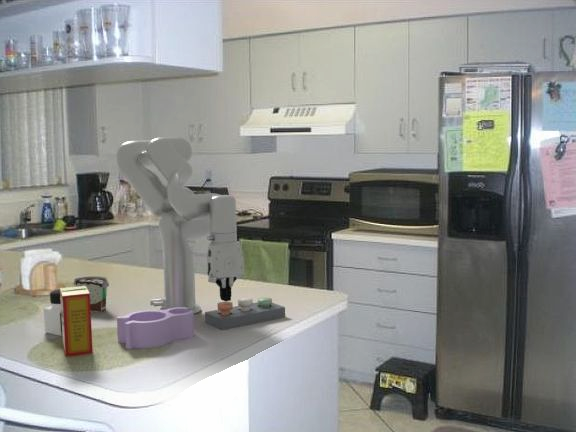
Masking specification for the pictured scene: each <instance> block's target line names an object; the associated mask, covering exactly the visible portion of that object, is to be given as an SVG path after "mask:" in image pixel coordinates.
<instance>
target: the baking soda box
mask: <svg viewBox="0 0 576 432" xmlns="http://www.w3.org/2000/svg"><path fill="white" fill-rule="evenodd" d="M59 289H60V302H61V321H62V336H61V339H62V347H63V351H64V355H65V358H66V357H73V356H74V357H75V356H81V355H89V354H94V353H93V334H92V332H93V331H92V311H91V309H90V293H89V291H88V289H87V287H86V286H77V287H76V286H68V287H66V286H65V287H60V288H59Z"/></svg>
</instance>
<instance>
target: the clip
mask: <svg viewBox="0 0 576 432" xmlns="http://www.w3.org/2000/svg"><path fill="white" fill-rule="evenodd" d="M116 327H117V331H116V332H117V343H124V344H125V349H126V350H131V349H133V348H135V349H136V348H138V349H148V348H149V349H150V348H157V347H161V346H165V345H167V344H169V343H171V342H173V341H175V340H176V341H177V340H186V339H189V338H192V337H194V336H195V314H194V311H193V310H191V311H188V308H187V307H176V308H170V309H166V310H160V309H159V310H157V309H148V310H146V309H145V310H138V311H134V312H133V311H132V312H130V313H128V314H126V315H124V316H117V317H116Z"/></svg>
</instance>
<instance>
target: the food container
mask: <svg viewBox="0 0 576 432" xmlns="http://www.w3.org/2000/svg"><path fill="white" fill-rule="evenodd" d="M73 285H74V287H77V286H86V287H87V289H88V291H89V293H90V309H91V313H92V312H94V313H101V314H102V313H104V312H105V311H106V310H107V307H106V306H107V290H108V287H109V286H110V283H109V280H108V278H107V277H104V276H97V275H96V276H93V275H92V276H82V277H77V278H74V281H73Z"/></svg>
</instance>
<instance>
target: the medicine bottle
mask: <svg viewBox="0 0 576 432" xmlns="http://www.w3.org/2000/svg"><path fill="white" fill-rule="evenodd" d="M49 301H50V306H47V307H44V308H43V320H44V332H45V333H46V334H50V335H54V336H59V337H62V321H61V302H60V288H58V289H54V290H52V291H51V292H50V293H49Z"/></svg>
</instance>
